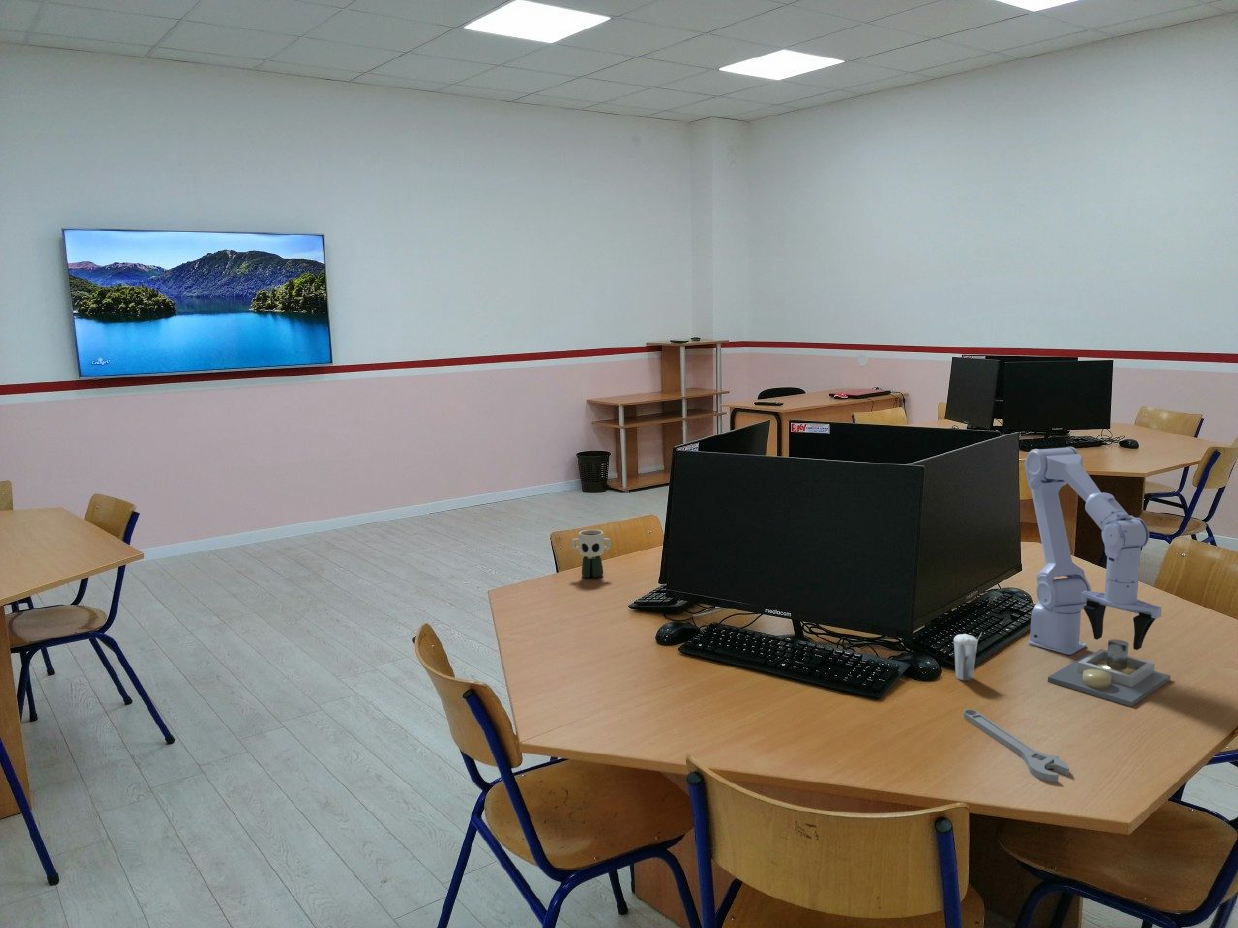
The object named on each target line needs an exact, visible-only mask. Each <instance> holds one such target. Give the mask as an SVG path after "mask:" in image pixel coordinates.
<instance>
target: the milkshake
mask: <svg viewBox="0 0 1238 928" xmlns="http://www.w3.org/2000/svg"><path fill="white" fill-rule="evenodd" d="M982 634H983V631H981V632H980V633H979V636H978V638H976V637H975V636H973V635H970V634H967V633H963V634H962V633H961V634H956V635H955V636H954V637H953V648H954V649H953V650H954V666H955V667H954V670H955V678H956V679H958V680H960V681H965V682H966V681H972V680H973V678H974V671H975V670H974V669H975V661H976V654H977V648H978V642H979V640H980V637H981V635H982Z"/></svg>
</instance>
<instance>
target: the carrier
mask: <svg viewBox="0 0 1238 928" xmlns="http://www.w3.org/2000/svg"><path fill="white" fill-rule="evenodd" d="M1107 653H1108V649H1103V648H1100V649H1099V650H1097V651H1095V652H1093V653H1090V652H1089V653H1087V654H1085V655H1083V656H1082V657H1080V658H1078V659H1077V660H1075V661H1072V662H1070V664H1068V665H1066V666H1064V667H1062V668H1060V669H1058V671H1056V672H1054V673H1052V674H1051V675H1049V676H1047V682H1049V683H1052V684H1055V685H1057V686H1058V685H1059V686H1062V687H1064V688H1069V689H1071V690H1074V691H1078V692H1081V693H1084V694H1088V695H1091V696H1094V697H1097V698H1100V699H1105V700H1108V701H1111V702H1113V703H1118V704H1121V705H1124V706H1127V707H1130V708H1132V707H1133V706H1135V705H1136V704H1138V703H1139V702H1140V701H1142V700H1144V699H1145V698H1146V697H1148V696H1149V695H1150V694H1152V693H1154V692H1155V691H1157V690H1158V689H1159V688H1161V687H1162V686H1164V685H1165V684H1166V683H1168V682H1169V681H1170V680H1171V675H1170V674H1167V673H1164V672H1160V671H1156V670H1155V666H1156V664H1155V663H1156V662H1153V661H1150V660H1149V661H1148V660H1146V659H1142V658H1137V657H1135V656H1129V655H1128V657H1127V663H1130V664H1132V665H1134V666H1135V667H1136V671H1134V672H1133V673H1131V674H1125V673H1122V672H1118V671H1114V670H1111V669H1107V668H1104V667H1100V666H1097V662H1098V661H1100V660H1105V659H1107Z"/></svg>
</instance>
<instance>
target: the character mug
mask: <svg viewBox="0 0 1238 928" xmlns="http://www.w3.org/2000/svg"><path fill="white" fill-rule="evenodd" d="M605 542H606V546H605ZM577 543H578V545H579V546H578V545H577ZM572 550H576V551H577V550H578V551H579V553H580V555H581V556H583V558H582V562H581V563H582V565H581V567H582V568H581V576H582V577H584V578H591V576H592V578H600V577H602V576H604V568H603V567H604V566H603V561H602V558H601V555H603V554H604V552H605V550H611V538H607V537H606V538H605V536H604V532H603V530H601V529H585V530H581V531H579V532H578V538H573V539H572Z"/></svg>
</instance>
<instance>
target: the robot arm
mask: <svg viewBox="0 0 1238 928" xmlns="http://www.w3.org/2000/svg"><path fill="white" fill-rule="evenodd" d="M1023 464H1024V468H1025V474H1026V478H1027V484H1028V488H1029V489H1030V490H1031V491H1030V492H1031V496H1032V497H1031V498H1032V500H1033V506H1034V511H1035V516H1036V521H1037V526H1038V531H1039V536H1040V541H1041V546H1042V552H1043V556H1044V562H1045V566H1044V567H1043V568H1041V570H1040V571H1039V572H1038V573H1037V574H1036V576H1035V577H1036V597H1037V600H1038V603H1036V604H1035V605H1034V607H1033V609H1032V612H1031V618H1030V634H1029V641H1028V644H1029V645H1032V646H1036V647H1039V648H1043V649H1046V650H1050V651H1054V652H1057V653H1061V654H1064V655H1068V656H1071V655H1074V654H1075V653H1077V652H1079V651H1080V650H1082V649H1084V648H1085V647H1087V643H1085V642H1081V641H1080V636H1081V635H1080V634H1081V631H1080V630H1081V618H1082V617H1081V616H1082V610H1084V613H1086V616H1087V618H1088V621H1089V622H1090V626H1091V630H1092V635H1093V640H1096V641H1097V640H1100V639H1101V638H1103V631H1104V617H1105V614H1106V613H1105V612H1106V608H1107V607H1109V608H1114V609H1117V610H1121V611H1126V612H1130V613H1134V614H1138V615H1135V616H1134V617H1133V618H1132V620H1133V629H1134V630H1133V632H1134V634H1133V635H1134V636H1133V644H1132V645H1133V650H1136V651H1138V650H1140V649H1141V648H1142V646H1143V643H1144V641H1145V637H1146V635H1147V634H1148V631H1149V629H1150V627H1152V625H1153V623H1154V622H1155V621H1156V620H1157V619H1159V618H1160V617H1162V607H1161V606H1157V605H1154V604H1151V603H1148V602H1145V601H1143V600H1139V599H1138V592H1139V591H1138V590H1139V579H1140V577H1139V576H1140V563H1141V551H1142V550H1141V549H1142V548H1144V547H1145V546H1147V544H1148V543H1149V541H1150V540H1149V539H1150V530H1149V528H1148V526H1147V524H1146V523H1145V521H1144V520H1143V519H1142V518H1139V517H1134V516H1133V515H1129V513H1127V511H1126V510H1125V509H1124V508H1123V507H1122V506H1121V504H1120V503H1119V502H1118V501H1117V500H1116V499H1115V496H1114V495H1113V494H1112V493H1108V492H1101V490H1100V489H1099V487H1098V486H1097V484H1096V482H1095V481H1093V479H1092V478H1091V476H1090V475H1089V473H1088V472H1087V471H1086V469H1085V468H1084V458H1083V456H1082V455H1081V454H1080V453H1079V451H1078V450H1077V449H1076V448H1075V447H1073V446H1067V447H1057V448H1056V447H1055V448H1043V449H1038V448H1034V449H1031V450H1030V451H1029V453H1028V455H1027V456H1026V458H1025V461H1024V462H1023ZM1067 484H1068V485H1069V487H1071V488H1072V490H1073V491H1074V492H1075V493H1077V494H1078V496H1079V497H1080V498H1081V499H1083V501H1084V502H1085V506H1084V509H1085V511H1086V513H1087V514H1088V516H1089V517H1091V519H1092V520H1093V521H1094V523H1095V524H1096V525H1097V526H1098V528H1099V529H1100V530H1101V540H1102V542H1103V544H1104V553H1105V556H1106V557H1107V559H1106V572H1105V586H1104V592H1097V591H1092V587H1091V585H1090V584H1089V582H1088V580H1087V577H1086V575H1085V571H1084V569H1083V568H1081V567H1080V566H1078V565H1077V564H1075V563H1074V562H1073V560H1072V555H1071V549H1070V543H1069V540H1068V534H1067V531H1066V526H1065V525H1066V524H1065V521H1064V520H1065V519H1064V515H1063V510H1062V506H1061V500H1060V495H1059V492H1060V490H1061V489H1062V488H1063V486H1066V485H1067ZM1058 577H1060V578H1058ZM1061 577H1063V578H1061Z"/></svg>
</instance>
